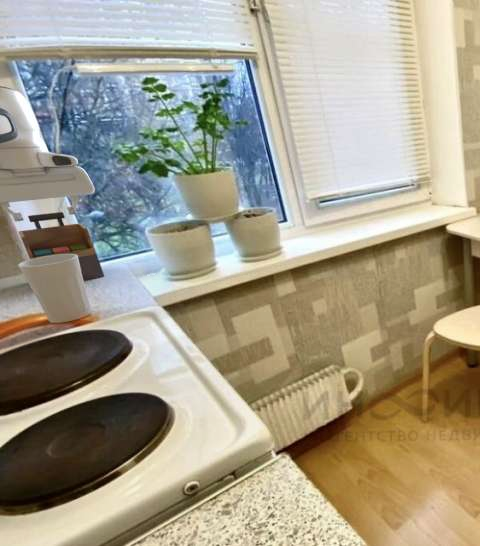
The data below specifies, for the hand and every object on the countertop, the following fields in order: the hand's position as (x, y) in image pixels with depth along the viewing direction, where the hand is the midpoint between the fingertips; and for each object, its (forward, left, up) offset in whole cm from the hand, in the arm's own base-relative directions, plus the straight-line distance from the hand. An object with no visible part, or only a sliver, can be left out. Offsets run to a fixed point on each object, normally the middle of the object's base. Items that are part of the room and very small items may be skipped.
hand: (47, 217), depth 104 cm
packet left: (-3, -5, -9) cm, 10 cm away
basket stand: (0, -5, -15) cm, 16 cm away
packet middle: (0, -5, -9) cm, 10 cm away
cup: (-4, -36, -15) cm, 40 cm away
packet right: (+3, -5, -9) cm, 10 cm away
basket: (0, -4, -9) cm, 10 cm away
